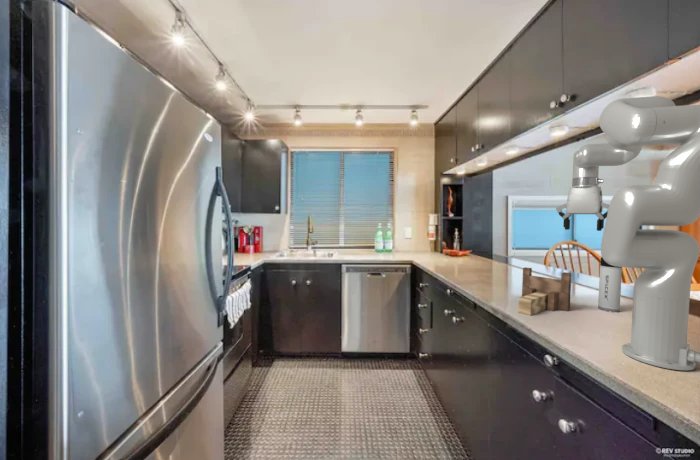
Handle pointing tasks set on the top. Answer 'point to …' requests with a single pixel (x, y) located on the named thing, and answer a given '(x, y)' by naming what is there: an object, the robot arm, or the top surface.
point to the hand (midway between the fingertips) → (582, 230)
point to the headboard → (549, 289)
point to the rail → (533, 303)
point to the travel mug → (609, 287)
